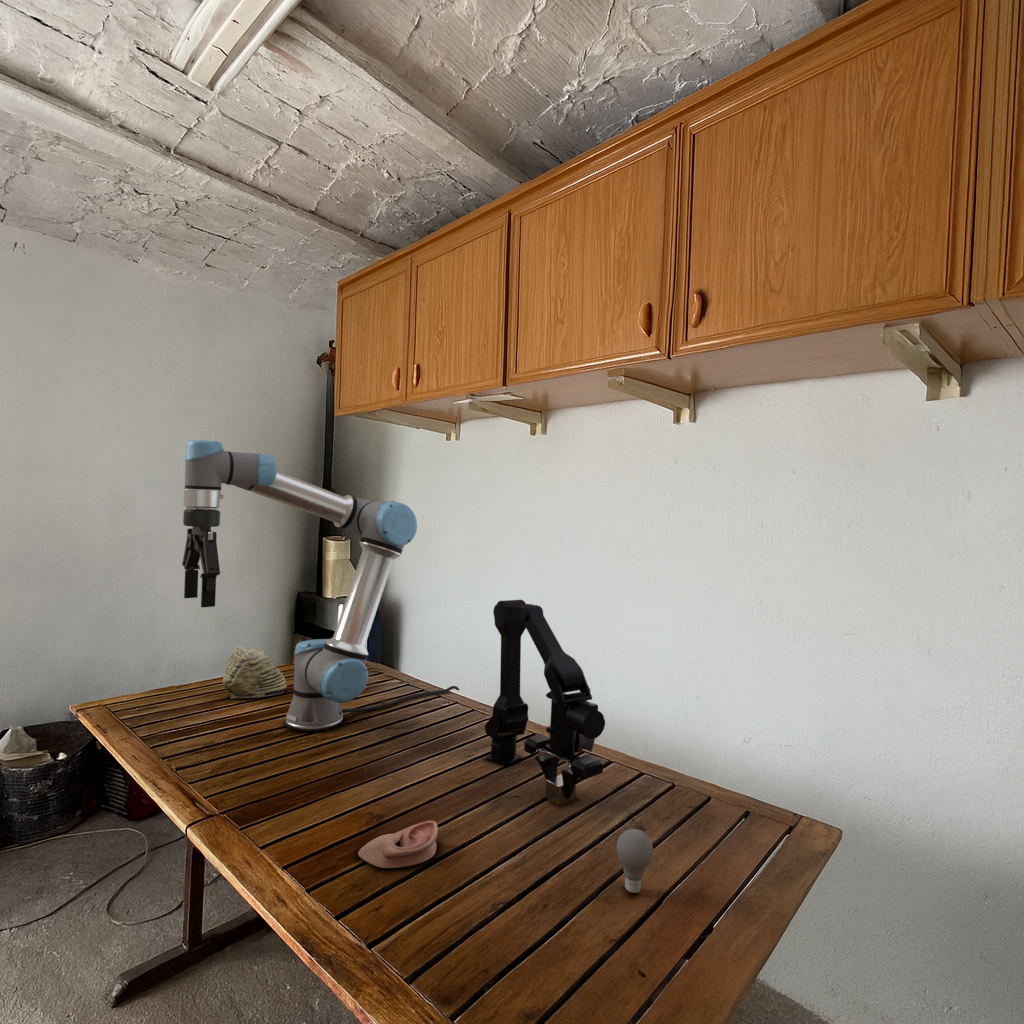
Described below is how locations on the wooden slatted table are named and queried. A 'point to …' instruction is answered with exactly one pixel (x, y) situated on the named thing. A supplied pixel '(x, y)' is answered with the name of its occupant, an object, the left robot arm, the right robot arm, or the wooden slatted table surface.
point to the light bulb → (634, 857)
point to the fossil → (252, 674)
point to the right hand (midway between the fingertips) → (560, 794)
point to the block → (557, 791)
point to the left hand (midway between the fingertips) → (199, 602)
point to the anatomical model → (402, 846)
